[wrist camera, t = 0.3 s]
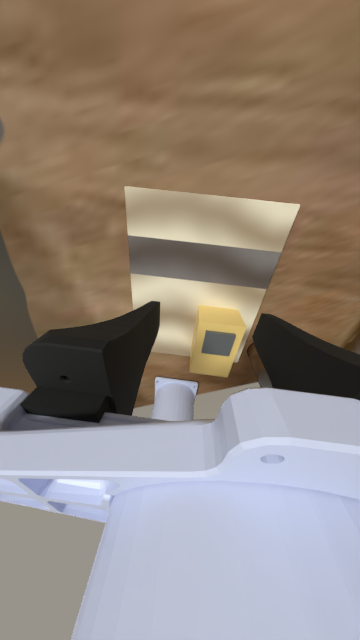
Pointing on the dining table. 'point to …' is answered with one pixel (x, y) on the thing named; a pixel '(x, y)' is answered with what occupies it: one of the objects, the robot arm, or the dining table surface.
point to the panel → (201, 257)
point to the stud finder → (215, 340)
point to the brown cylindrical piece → (258, 367)
